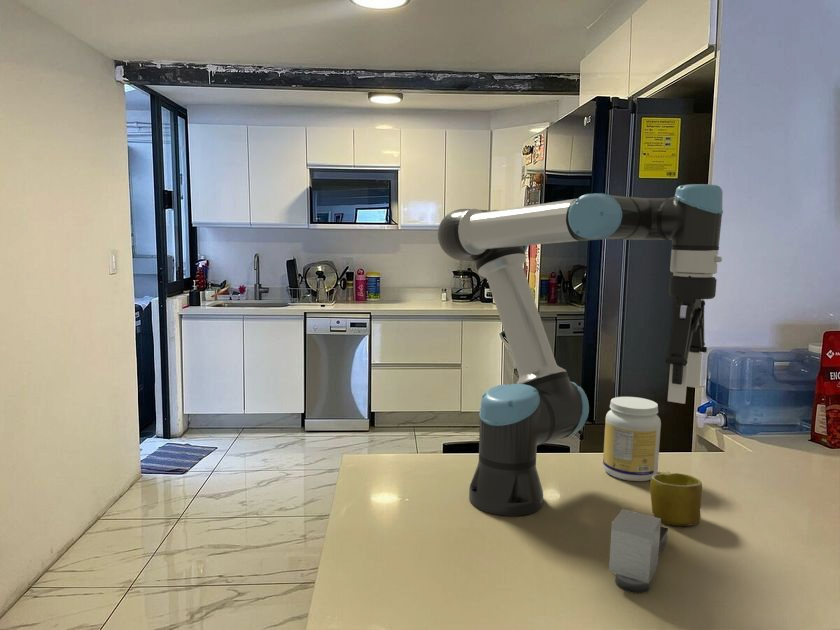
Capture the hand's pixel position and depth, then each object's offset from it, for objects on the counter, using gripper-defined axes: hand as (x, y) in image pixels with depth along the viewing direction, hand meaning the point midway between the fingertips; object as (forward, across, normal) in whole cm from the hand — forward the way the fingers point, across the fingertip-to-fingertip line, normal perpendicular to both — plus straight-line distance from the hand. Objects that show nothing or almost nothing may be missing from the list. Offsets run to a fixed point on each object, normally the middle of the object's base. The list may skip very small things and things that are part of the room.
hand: (684, 394), depth 112 cm
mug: (+27, +9, +2) cm, 29 cm away
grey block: (+24, -21, +2) cm, 32 cm away
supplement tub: (+27, +27, +15) cm, 41 cm away
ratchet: (+27, -13, +2) cm, 30 cm away
